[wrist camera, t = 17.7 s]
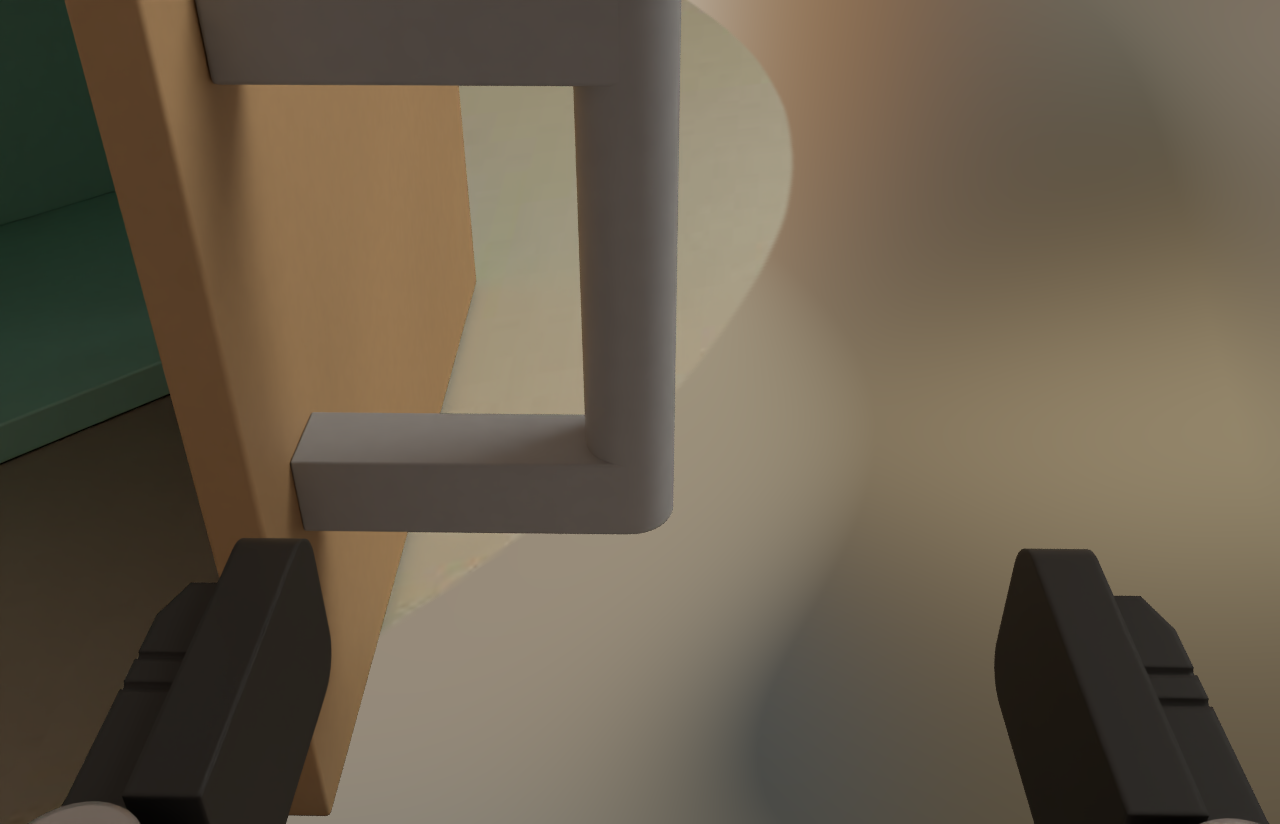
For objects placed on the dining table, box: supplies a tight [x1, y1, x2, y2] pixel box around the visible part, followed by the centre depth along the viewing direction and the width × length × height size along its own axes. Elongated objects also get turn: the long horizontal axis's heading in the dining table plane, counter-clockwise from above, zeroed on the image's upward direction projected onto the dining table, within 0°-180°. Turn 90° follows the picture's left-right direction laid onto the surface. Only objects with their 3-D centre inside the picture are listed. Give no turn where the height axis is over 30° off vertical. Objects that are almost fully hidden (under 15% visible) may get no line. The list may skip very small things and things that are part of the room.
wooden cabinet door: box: [64, 0, 681, 816], centre depth 27 cm, size 8×22×22 cm, turn 179°
